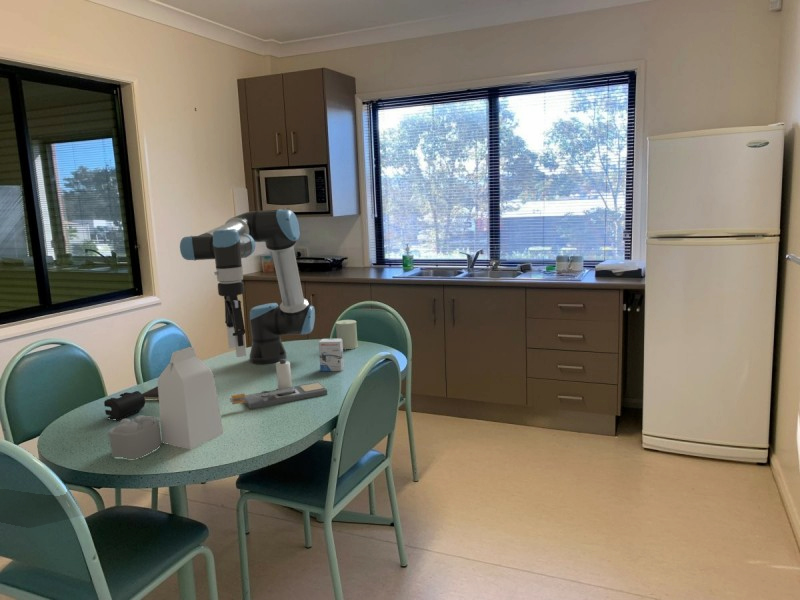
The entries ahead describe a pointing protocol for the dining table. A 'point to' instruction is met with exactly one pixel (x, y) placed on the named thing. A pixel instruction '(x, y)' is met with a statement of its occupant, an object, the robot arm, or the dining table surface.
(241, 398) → the clip
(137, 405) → the end cap
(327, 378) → the dining table surface
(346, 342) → the cream tapered cylinder
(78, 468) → the dining table surface
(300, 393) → the grey slotted tray
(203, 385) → the milk
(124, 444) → the lumpy-topped squat cylinder
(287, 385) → the plug
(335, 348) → the ink box
